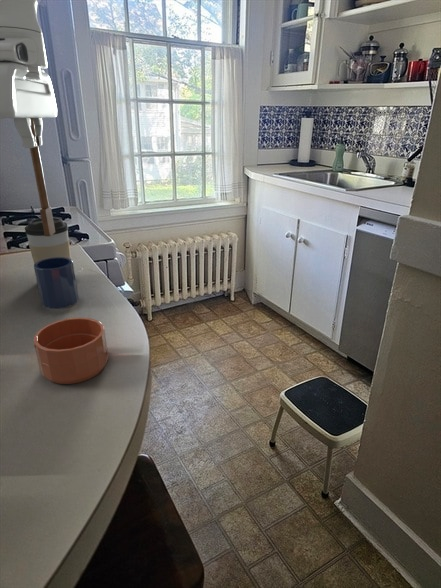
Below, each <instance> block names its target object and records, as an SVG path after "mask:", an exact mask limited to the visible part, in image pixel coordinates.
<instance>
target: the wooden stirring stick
mask: <svg viewBox="0 0 441 588" xmlns="http://www.w3.org/2000/svg"><path fill="white" fill-rule="evenodd" d="M30 120H31V126H30V127H31V130H32V133H33V137H35V138H36V143H37V137H36V132H35V126H34V121H33V118H30ZM39 148H40V147H38V143H37V146H36V147H35V148H29V153H30V156H31V163H32V168H33V173H34V178H35V183H36V188H37V194H38V199H39V204H40V209H39V214H40V218H41V219H42V224H43V229H44V234H45V237H46V236H51V235H52V234H54V233H55V227H54V221H53V218H54V216H53V210H52V206H50V203H49V198H48V193H47V192H48V191H47V187H46V181H45V177H44V175H45V174H44V170H43V164H42V160H41V154H40V149H39Z"/></svg>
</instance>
